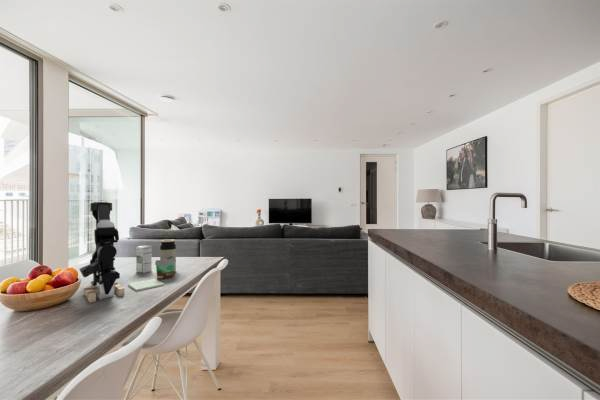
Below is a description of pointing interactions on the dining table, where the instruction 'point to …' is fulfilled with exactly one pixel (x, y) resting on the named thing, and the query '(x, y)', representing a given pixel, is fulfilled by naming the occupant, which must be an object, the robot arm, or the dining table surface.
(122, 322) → the dining table surface
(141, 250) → the syrup box
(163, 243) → the travel mug
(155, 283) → the board
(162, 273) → the food container
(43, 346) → the dining table surface
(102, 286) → the steel collar
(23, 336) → the dining table surface
